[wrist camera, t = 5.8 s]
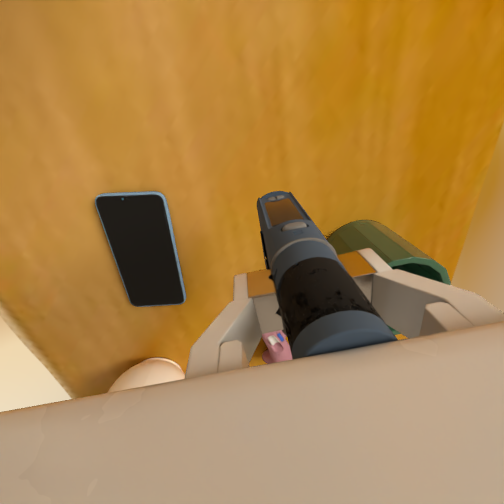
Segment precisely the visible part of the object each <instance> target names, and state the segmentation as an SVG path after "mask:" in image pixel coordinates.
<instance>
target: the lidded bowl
mask: <svg viewBox="0 0 504 504" xmlns="http://www.w3.org/2000/svg"><path fill="white" fill-rule="evenodd" d="M181 379H185V374H184V372H183V371H182V369H181V367H180V366H179V365H178V364H177V363H175V362H174V361H172V360H169V359H166V358H149V359H146V360H144V361H142V362H141V363H139V364H137V365H135V366H133V367H131V368H130V369H128V370H127V371H125V372H124V373H123V374H122V375H121V376H120V377H119V378H118V379H117V380H116V381H115V382H114V384H113V385H112V386H111V388H110V389H109V391H108V392H107V393H109V392H115V391H121V390H126V389H132V388H137V387H143V386H148V385H154V384H159V383H165V382H170V381H176V380H181Z"/></svg>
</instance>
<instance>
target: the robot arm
mask: <svg viewBox="0 0 504 504" xmlns="http://www.w3.org/2000/svg"><path fill="white" fill-rule="evenodd" d="M337 258H338V259H339V260H340V262H341V263H342V265H343V266H344V267H345V269H346V270H347V271H348V273H349V275H350V276H351V277H352V278H353V280H354V281H355V282H356V284H357V285H358V286H359V288H360V289H361V290H362V292H363V293H364V295H365V296H366V297H367V299H368V300H369V301H370V303H371V304H372V305H373V307H374V308H375V310H376V311H377V312H378V314H379V315H380V316H381V317H380V318H382V319H383V320H384V322H385V323H386V324H387V325H388V326H390V327H392V328H393V329H395V330H396V331H398V332H400V333H401V334H403V335H404V336H406V337H407V338H408V339H402V340H397V341H391V342H385V343H380V344H374V345H369V346H363V347H358V348H352V349H347V350H341V351H336V352H330V353H325V354H319V355H314V356H308V357H303V358H297V359H292V360H286V361H281V362H275V363H270V364H264V365H259V366H253V367H250V366H249V362H250V360H251V358H252V356H253V354H254V352H255V350H256V348H257V346H258V343H259V341H260V339H261V337H262V334H265V333H270V332H274V331H279V330H284V328H283V323H282V318H281V313H280V308H279V303H278V298H277V293H276V289H275V284H274V280H273V278H272V272H271V268H270V269H265V270H259V271H254V272H248V273H243V274H238V275H235V276H234V293H233V301H232V302H229V304H228V305H227V306H226V307H225V308H224V309H223V311H222V312H221V313H220V314H219V315H218V316H217V318H216V319H215V320H214V321H213V322H212V323H211V325H210V326H209V327H208V328H207V329H206V330H205V332H204V333H203V334H202V335H201V336H200V337H199V339H198V340H197V341H196V342H195V343H194V344H193V346H192V347H191V350H190V355H189V360H188V364H187V369H186V374H185V379H181V380H176V381H170V382H165V383H159V384H154V385H148V386H143V387H137V388H132V389H126V390H121V391H115V392H109V393H104V394H98V395H93V396H87V397H82V398H76V399H71V400H65V401H60V402H54V403H49V404H43V405H38V406H32V407H27V408H21V409H15V410H10V411H4V412H0V504H504V313H503V312H502V311H500V310H499V309H498V308H496V307H495V306H493V305H492V304H491V303H489V302H488V301H487V300H485V299H484V298H483V297H481V296H480V295H478V294H476V293H473V292H470V291H467V290H464V289H460V288H457V287H454V286H451V285H447V284H444V283H441V282H438V281H435V280H431V279H428V278H425V277H422V276H418V275H415V274H412V273H409V272H406V271H402V270H399V269H395V270H393V269H392V268H391V267H390V266H389V265H388V264H387V263H386V262H385V261H383V260H382V259H381V258H380V257H379V256H378V255H377V254H376V253H375V252H374V251H373V250H372V249H371V248H365V249H361V250H357V251H354V252H349V253H345V254H340V255H337ZM353 280H352V281H353ZM352 281H351V282H352ZM358 290H359V289H358ZM360 295H361V294H360ZM362 295H363V294H362ZM363 298H364V297H363ZM364 300H365V298H364ZM352 305H353V304H352ZM348 306H349V305H348ZM373 307H372V308H373ZM350 309H351V308H350ZM357 310H358V309H357ZM376 311H375V312H376ZM374 315H375V314H374Z"/></svg>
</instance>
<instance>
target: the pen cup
mask: <svg viewBox="0 0 504 504" xmlns="http://www.w3.org/2000/svg"><path fill="white" fill-rule="evenodd" d="M327 241H328V242H329V244H331V245H332V246H333V248H334V249H335V251H336V253H337V255H340V254H345V253H349V252H354V251H357V250H361V249H365V248H371V249H372V250H373V251H374V252H375V253H376V254H377V255H378V256H379V257H380V258H381V259H382V260H383V261H385V262H386V263H387V264H388V265H389V266H390V267H391V268H392V269H393V270H395V269H399V270H402V271H406V272H409V273H412V274H415V275H418V276H422V277H425V278H428V279H431V280H435V281H438V282H441V283H444V284H447V285H451V282H450V279H449V276H448V273H447V270H446V268H444V267H443V266H442V265H440V264H439V263H438V262H436V261H435V260H433V259H432V258H431V257H429V256H428V255H426V254H425V253H423V252H422V251H420V250H419V249H418V248H416V247H415V246H413V245H412V244H410V243H409V242H407V241H406V240H405V239H403V238H402V237H400V236H399V235H397V234H396V233H394V232H393V231H392V230H390V229H389V228H387V227H386V226H384V225H382V224H381V223H379V222H376V221H372V220H359V221H354V222H351V223H348V224H346V225H344V226H342V227H340V228H339V229H337V230H336V231H335V232H334V233H333V234H332V235H331V236H330V237H329V238H328V239H327ZM386 325H387V324H386ZM387 326H388V325H387ZM388 327H389V329H390V330H391V331H392V333H393V334H394V335H397V334H401V333H400V332H398V331H396V330H395V329H393V328H392V327H390V326H388Z"/></svg>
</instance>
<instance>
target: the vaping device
mask: <svg viewBox="0 0 504 504" xmlns="http://www.w3.org/2000/svg"><path fill="white" fill-rule="evenodd" d="M257 210H258V216H259V221H260V227H261V231H260V233H261V239H262V246H263V253H264V259H265V257H266V259H267V260H266V259H265V264H266V269H270V268H271V272H272V278H273V280H274V284H275V289H276V293H277V298H278V303H279V308H280V313H281V318H282V323H283V328H284V330H282V332H283V333H284V334H285V335H286V336H287V337H288V341H289V346H290V350H291V354H292V358H293V359H297V358H303V357H308V356H314V355H319V354H325V353H330V352H336V351H341V350H347V349H352V348H358V347H363V346H369V345H374V344H380V343H385V342H391V341H397V338H396V337H395V335H394V334H393V333H392V331H391V330H390V329H389V327H388V326H387V325H386V323H385V322H384V320H383V319H382V318H380V317H381V316H380V315H379V314H378V312H377V311H376V310H375V308H374V307H373V305H372V304H371V303H370V301H369V300H368V299H367V297H366V296H365V295H364V293H363V292H362V290H361V289H360V288H359V286H358V285H357V284H356V282H355V281H354V280H353V278H352V277H351V276H350V275H349V273H348V271H347V270H346V269H345V267H344V266H343V265H342V263H341V262H340V260H339V259H338V258H337V253H336V251H335V249H334V248H333V246H332V245H331V244H329V242H328V241H327V240H326V238H325V237H324V236H323V234H322V233H321V232H320V230H319V229H318V228H317V226H316V225H315V224H314V222H313V221H312V220H311V218H310V217H309V216H308V214H307V213H306V212H305V210H304V209H303V208H302V206H301V205H300V204H299V203H298V201H297V200H296V199H295V197H294V196H293V195H292V193H291V192H289V193H287V192H284V191H275V192H271V193H268V194H266V195H264V196H263V197H262V198H258V201H257ZM352 280H353V281H352ZM351 281H352V282H351ZM358 289H359V290H358ZM360 294H361V295H360ZM362 294H363V295H362ZM363 297H364V298H365V300H364V298H363ZM352 304H353V305H352ZM348 305H349V306H348ZM372 307H373V308H372ZM350 308H351V309H350ZM357 309H358V310H357ZM375 311H376V312H375ZM374 314H375V315H374Z"/></svg>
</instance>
